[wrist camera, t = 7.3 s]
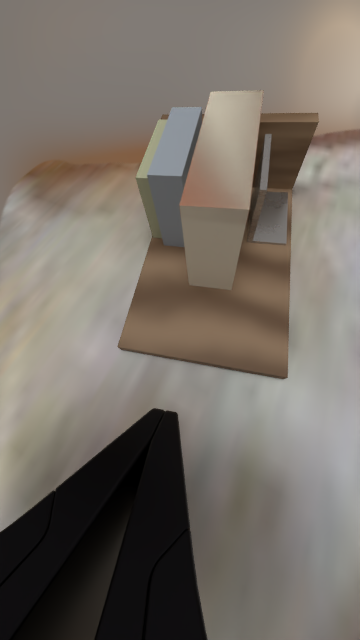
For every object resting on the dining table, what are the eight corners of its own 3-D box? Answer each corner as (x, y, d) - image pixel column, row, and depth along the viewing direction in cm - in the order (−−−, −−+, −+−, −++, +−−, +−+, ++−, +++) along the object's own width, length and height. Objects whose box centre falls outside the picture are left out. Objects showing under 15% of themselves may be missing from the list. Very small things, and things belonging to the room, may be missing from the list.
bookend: (285, 245, 25) (311, 191, 19) (246, 242, 25) (259, 189, 19) (287, 194, 27) (310, 134, 22) (252, 193, 28) (265, 133, 22)
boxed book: (231, 290, 23) (249, 209, 14) (188, 285, 24) (179, 205, 15) (244, 195, 28) (263, 90, 19) (208, 193, 29) (210, 91, 20)
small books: (188, 247, 26) (181, 176, 18) (151, 244, 27) (129, 174, 19) (202, 187, 29) (201, 106, 22) (169, 186, 30) (156, 107, 22)
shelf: (283, 379, 20) (329, 360, 13) (120, 349, 23) (81, 319, 16) (289, 188, 29) (318, 112, 22) (172, 183, 32) (162, 114, 25)
